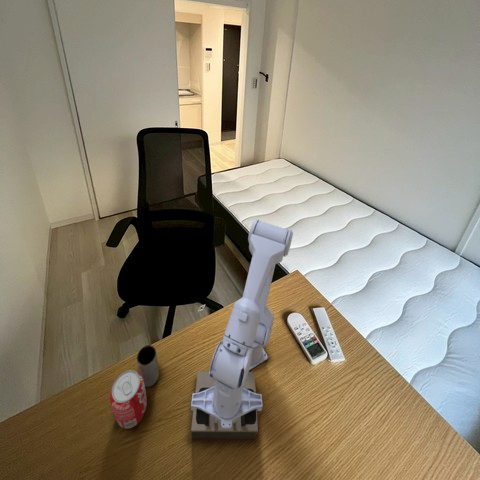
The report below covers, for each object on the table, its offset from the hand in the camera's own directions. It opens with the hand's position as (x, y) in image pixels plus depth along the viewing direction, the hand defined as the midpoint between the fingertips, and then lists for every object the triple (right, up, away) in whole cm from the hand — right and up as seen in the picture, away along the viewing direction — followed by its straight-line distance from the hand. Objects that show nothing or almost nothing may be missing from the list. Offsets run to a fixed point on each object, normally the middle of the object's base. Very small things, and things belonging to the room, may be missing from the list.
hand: (225, 419), depth 54 cm
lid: (0, 0, +4) cm, 4 cm away
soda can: (-23, -3, +5) cm, 24 cm away
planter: (-21, -1, +11) cm, 24 cm away
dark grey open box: (-1, -4, +7) cm, 8 cm away
